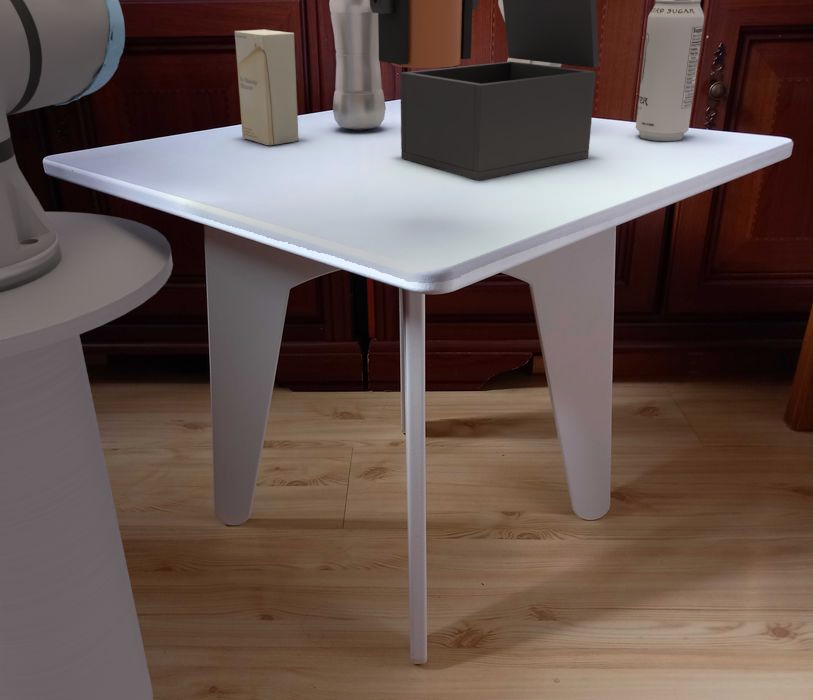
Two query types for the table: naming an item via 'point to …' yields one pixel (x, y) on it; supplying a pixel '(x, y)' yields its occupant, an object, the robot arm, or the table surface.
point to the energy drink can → (669, 69)
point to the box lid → (552, 31)
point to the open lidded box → (496, 117)
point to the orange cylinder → (434, 33)
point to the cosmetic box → (267, 86)
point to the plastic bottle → (357, 65)
